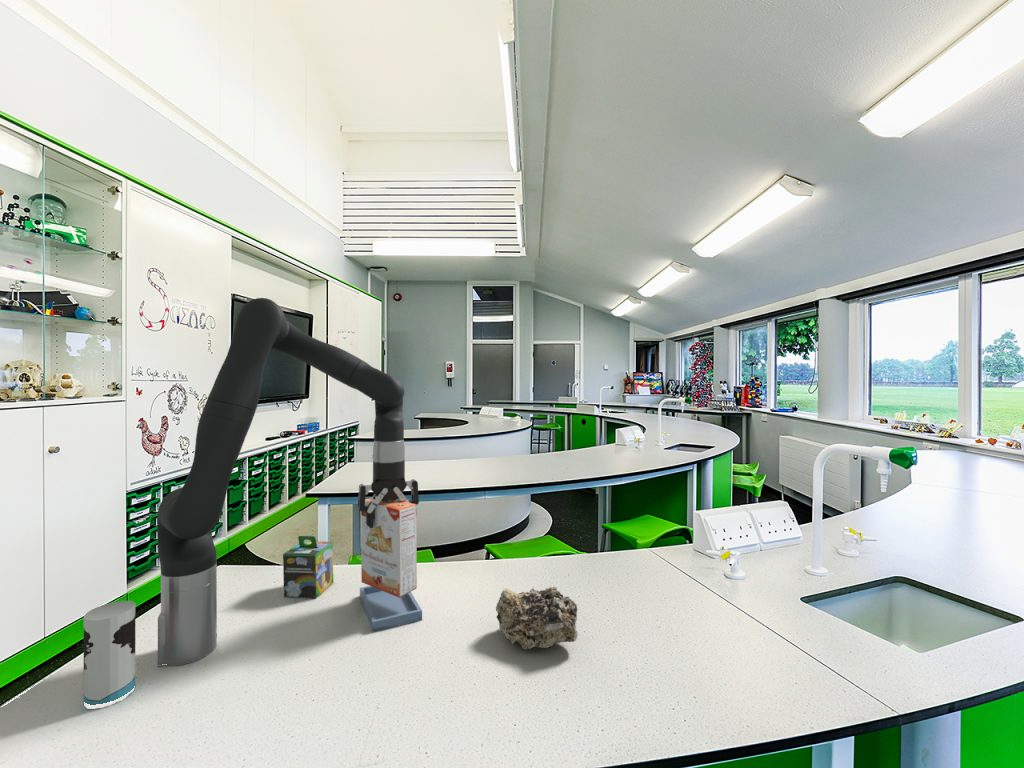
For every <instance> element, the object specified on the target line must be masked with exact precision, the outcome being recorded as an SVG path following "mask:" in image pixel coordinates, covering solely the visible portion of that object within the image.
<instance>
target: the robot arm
mask: <svg viewBox="0 0 1024 768" xmlns="http://www.w3.org/2000/svg"><path fill="white" fill-rule="evenodd" d="M230 341H231V342H230V346H229V348H228V351H227V353H226V357H225V358H224V360H223V363H222V365H221V367H220V370H219V371H218V373H217V376H216V379H215V380H214V383H213V385H212V388H211V390H210V392H209V394H208V396H207V399H206V402H205V404H204V406H203V409H202V411H201V414H200V416H199V420H198V425H197V427H196V428H197V429H196V437H195V443H194V444H195V445H194V446H195V447H194V454H193V455H194V456H193V461H192V464H191V467H190V470H189V472H188V475H187V477H186V479H185V481H184V484H183V486H181V487H177V488H176V489H174V490H172V491H170V492H169V493H167V495H165V496H164V498H163V499H162V500H161V501H160V503H159V506H158V510H157V520H156V523H157V525H156V527H157V528H156V530H157V531H156V532H157V533H156V534H157V554H158V560H159V564H160V613H159V614H158V615H157V666H158V665H162V664H167V665H166V666H169V665H177V666H184V665H187V663H188V664H190V663H193V661H194V662H196V661H199V660H201V659H203V658H205V657H207V656H208V655H210V654H211V653H212V652H213V651H214V650H215V649H216V648H217V644H218V643H217V640H218V639H217V638H218V633H217V632H218V631H217V629H218V622H217V621H218V620H217V619H218V614H217V613H218V610H217V609H218V608H217V607H218V604H217V603H218V598H217V597H218V593H217V592H218V590H217V589H218V587H217V586H218V581H217V580H218V575H217V571H218V570H217V569H218V566H217V562H218V561H217V559H218V557H217V556H218V553H217V549H216V546H215V543H214V539H213V535H212V533H213V532H212V530H213V529H214V527H215V526H216V525H217V523H218V522H219V520H220V519H221V516H222V512H223V508H224V505H225V502H226V501H225V500H226V498H227V497H226V496H227V491H228V489H229V484H230V481H231V477H232V473H233V471H234V470H233V469H234V467H235V465H236V463H237V461H238V458H239V456H240V453H241V450H242V448H243V445H244V443H245V440H246V437H247V435H248V432H249V430H250V428H251V425H252V422H253V419H254V417H255V413H256V411H257V408H258V404H259V401H260V395H261V390H262V383H263V376H264V375H263V374H264V371H265V370H264V369H265V365H266V362H267V359H268V356H269V354H270V351H271V350H274V351H277V352H280V353H283V354H285V355H287V356H291V357H292V358H295V359H296V360H299V361H302V362H304V363H305V364H307V365H308V366H311V367H313V368H314V369H316V370H318V371H319V372H322V373H323V374H325V375H327V376H328V377H330V378H332V379H334V380H336V381H337V382H340V383H342V384H344V385H346V386H347V387H350V388H351V389H353V390H354V389H355V390H356V391H358V392H360V393H362V394H364V396H367V397H368V398H370V399H372V400H373V401H374V410H375V415H374V416H375V418H374V423H373V424H374V425H373V447H372V455H371V456H372V457H371V458H372V482H371V484H363V483H361V484H359V486H358V498H357V500H358V501H357V509H358V510H359V511H360V513H361V512H362V511H363V512H366V524H367V526H369V528H370V529H371V528H373V512H372V511H373V510H374V508H375V507H376V506H377V505H378V504H379V502H380V501H383V502H385V501H389V500H392V501H394V500H399V501H402V502H408V503H412V504H416V505H419V504H420V503H419V502H420V499H419V497H420V496H419V481H417V480H416V479H413V478H412V479H411V480H408V481H407V480H406V477H405V475H406V474H405V473H406V471H405V470H406V469H405V468H406V467H405V466H406V465H405V463H406V460H405V459H406V453H405V452H406V450H405V440H404V439H405V438H404V437H405V436H404V435H405V431H404V428H405V427H404V425H405V424H404V419H403V409H404V396H405V387H404V385H403V383H402V382H401V381H400V379H398V378H396V377H394V376H391V375H390V374H387V373H386V372H384V371H382V370H380V369H378V368H376V367H374V366H372V365H370V364H369V363H368V362H366V361H364V360H363V359H361V358H359V357H357V356H355V355H354V354H352V353H350V352H348V351H347V350H345V349H342V348H341V347H338V346H335V345H332V344H330V343H327V342H324V341H321V340H319V339H316V338H315V337H312V336H310V335H308V334H307V333H305V332H304V331H302V330H300V329H299V328H298V327H296V326H295V325H294V324H292V323H291V322H289V320H287V318H286V315H285V312H284V311H283V310H282V308H281V307H280V306H279V305H278V304H277V302H275V301H273V300H272V299H269V298H265V297H257V298H253V299H250V300H249V301H247V302H246V303H245V304H243V306H242V307H241V308H240V310H239V312H238V314H237V318H236V323H235V326H234V330H233V334H232V339H231V340H230ZM407 486H408V489H409V490H410V496H411V497H410V498H411V499H410V500H409V499H408V498H407V497H406V496H405V494H404V493H403V492H404V491H405V489H406V488H407ZM370 491H372V493H374V494H373V496H372V497H370V498H371V500H370V502H369V504H368V505H367V506H366V505H365V499H366V496H367V495H368V494H369V493H370ZM162 666H163V665H162Z"/></svg>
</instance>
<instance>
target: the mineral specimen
mask: <svg viewBox="0 0 1024 768" xmlns="http://www.w3.org/2000/svg"><path fill="white" fill-rule="evenodd" d="M495 611H496V612H497V615H496V619H497V621H498V625H499V630H501V633H503V634H504V635H505V638H506V639H507V640H509V641H510V643H512V644H514V643H515V642H517V643H519V644H520V645H521V647H522V649H524V650H531V649H533V648H534V647H536V648H550V647H552V646H553V645H554V644H555V643H557V644H560V643H571V642H572V643H574V642H575V641H577V639H578V636H579V635H578V634H579V633H578V630H577V620H578V614H577V613H578V605H577V603H575V601H574V600H572V599H571V598H570V597H569V596H564V595H563V594H562V593H561V592H560V591H559V590H558V589H557V587H556V586H549V587H547V588H545V589H544V590H543V589H542V590H537V589H536V590H535V588H531V589H530V590H529V591H526V592H524V591H522V592H520V593H516V592H514V591H512V590H510V589H508V588H504V589H503V590H502V591H501V593H500V597H499V599H498V602H497V603H496V606H495Z"/></svg>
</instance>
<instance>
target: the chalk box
mask: <svg viewBox="0 0 1024 768" xmlns="http://www.w3.org/2000/svg"><path fill="white" fill-rule="evenodd" d="M297 539H298V544H297V545H294V546H292V547H291V548H290V549H289V550H286V552H283V554H282V559H283V562H282V563H283V564H282V566H283V575H282V576H283V597H284V598H297V599H314V600H315V599H317V598H318V597H320V596H321V594H324V592H325V591H326V590H328V588H330V586H332V585H333V584H334V581H335V580H334V557H333V556H334V554H333V552H334V551H333V544H334V543H333V541H317V540H316V536H314V535H298V537H297ZM306 540H308V541H306Z"/></svg>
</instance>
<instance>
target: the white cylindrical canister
mask: <svg viewBox="0 0 1024 768" xmlns="http://www.w3.org/2000/svg"><path fill="white" fill-rule="evenodd" d="M134 686H135V687H136V603H135V601H132V600H119V601H113V602H110V603H107V604H103V605H100V606H97V607H95V608H93V609H91V610H89V611H88V612H86V613H85V614H84V616H83V703H84V702H85V703H87V704H90V705H96V704H103V703H107V702H110V701H114V700H116V699H118V698H120V697H122V696H124V695H125V694H127V693H128V692H130V691H131V690H132V689H133V688H134Z"/></svg>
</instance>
